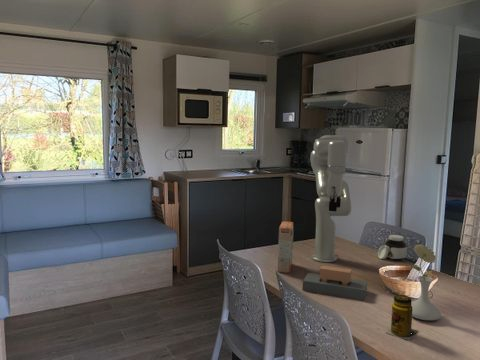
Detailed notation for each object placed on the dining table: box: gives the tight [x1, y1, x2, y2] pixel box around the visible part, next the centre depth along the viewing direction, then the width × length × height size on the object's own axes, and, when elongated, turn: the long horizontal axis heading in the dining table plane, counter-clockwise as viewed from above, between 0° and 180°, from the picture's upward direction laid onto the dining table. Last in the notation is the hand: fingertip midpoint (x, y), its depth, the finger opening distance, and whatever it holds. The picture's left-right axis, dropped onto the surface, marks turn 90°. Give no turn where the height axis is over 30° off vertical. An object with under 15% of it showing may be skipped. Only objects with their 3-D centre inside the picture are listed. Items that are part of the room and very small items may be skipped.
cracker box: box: [277, 221, 294, 274], centre depth 192 cm, size 14×6×21 cm, turn 168°
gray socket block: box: [302, 272, 368, 301], centre depth 166 cm, size 10×24×4 cm, turn 67°
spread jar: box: [377, 234, 408, 262], centre depth 208 cm, size 12×11×12 cm
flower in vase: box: [411, 244, 442, 321], centre depth 144 cm, size 13×11×25 cm
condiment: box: [386, 294, 418, 341], centre depth 132 cm, size 7×8×12 cm
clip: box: [319, 265, 353, 286], centre depth 166 cm, size 4×12×9 cm, turn 68°
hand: (334, 209), depth 179 cm, fingers open, 9 cm apart
